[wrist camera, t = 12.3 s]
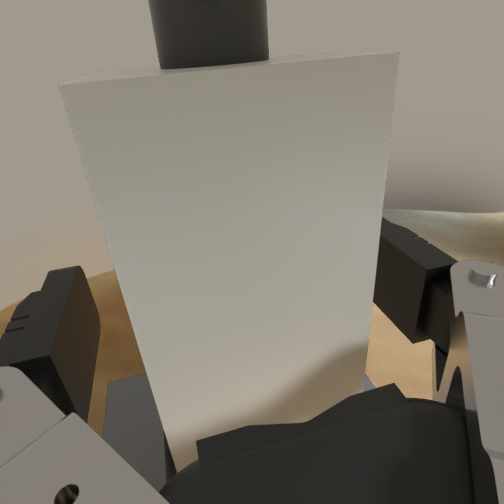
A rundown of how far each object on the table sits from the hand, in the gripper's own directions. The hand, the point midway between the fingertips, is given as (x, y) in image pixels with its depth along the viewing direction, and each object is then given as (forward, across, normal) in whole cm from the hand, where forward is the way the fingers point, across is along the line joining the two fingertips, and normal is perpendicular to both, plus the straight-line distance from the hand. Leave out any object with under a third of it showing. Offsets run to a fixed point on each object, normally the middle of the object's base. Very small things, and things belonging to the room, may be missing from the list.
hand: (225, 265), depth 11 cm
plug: (-2, 0, +10) cm, 11 cm away
